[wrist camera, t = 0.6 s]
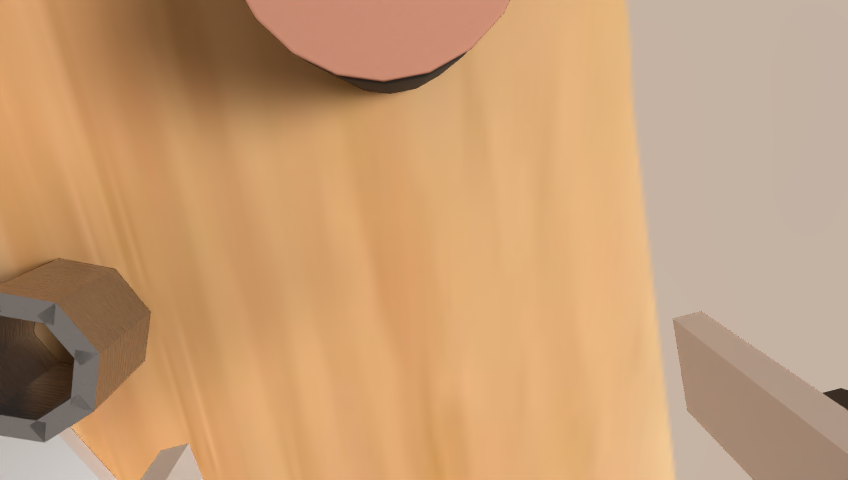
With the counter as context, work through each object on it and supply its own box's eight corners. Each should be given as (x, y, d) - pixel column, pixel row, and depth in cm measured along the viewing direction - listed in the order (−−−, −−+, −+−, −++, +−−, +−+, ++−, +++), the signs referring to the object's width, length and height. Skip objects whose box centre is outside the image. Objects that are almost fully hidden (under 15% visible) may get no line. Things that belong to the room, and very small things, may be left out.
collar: (-15, 307, 39) (-101, 349, 33) (89, 237, 39) (23, 265, 32) (74, 406, 41) (10, 464, 35) (174, 341, 41) (129, 388, 34)
